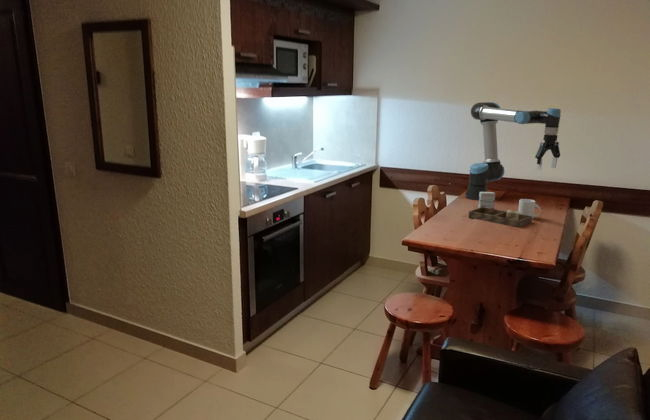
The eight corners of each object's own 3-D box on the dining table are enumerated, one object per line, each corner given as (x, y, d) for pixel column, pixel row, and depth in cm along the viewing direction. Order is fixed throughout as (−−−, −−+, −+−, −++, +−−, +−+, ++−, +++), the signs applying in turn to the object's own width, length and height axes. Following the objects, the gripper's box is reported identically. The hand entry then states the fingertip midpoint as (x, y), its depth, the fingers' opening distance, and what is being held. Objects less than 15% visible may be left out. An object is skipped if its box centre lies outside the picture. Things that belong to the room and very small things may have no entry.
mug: (537, 222, 272) (539, 203, 269) (515, 218, 279) (517, 200, 276) (541, 219, 279) (543, 201, 276) (519, 215, 285) (521, 198, 283)
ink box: (491, 210, 298) (493, 191, 295) (493, 212, 293) (495, 193, 290) (477, 209, 298) (479, 191, 295) (479, 211, 294) (481, 192, 291)
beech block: (505, 222, 268) (506, 212, 267) (507, 220, 273) (508, 209, 272) (516, 224, 265) (517, 213, 264) (518, 221, 270) (519, 211, 269)
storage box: (468, 217, 279) (469, 211, 278) (481, 213, 290) (482, 206, 289) (519, 228, 259) (520, 221, 258) (531, 223, 270) (532, 216, 269)
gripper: (542, 135, 284) (537, 171, 289) (569, 134, 295) (564, 168, 301) (531, 134, 290) (527, 169, 296) (558, 133, 302) (554, 166, 307)
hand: (546, 168), depth 298 cm, fingers open, 13 cm apart
